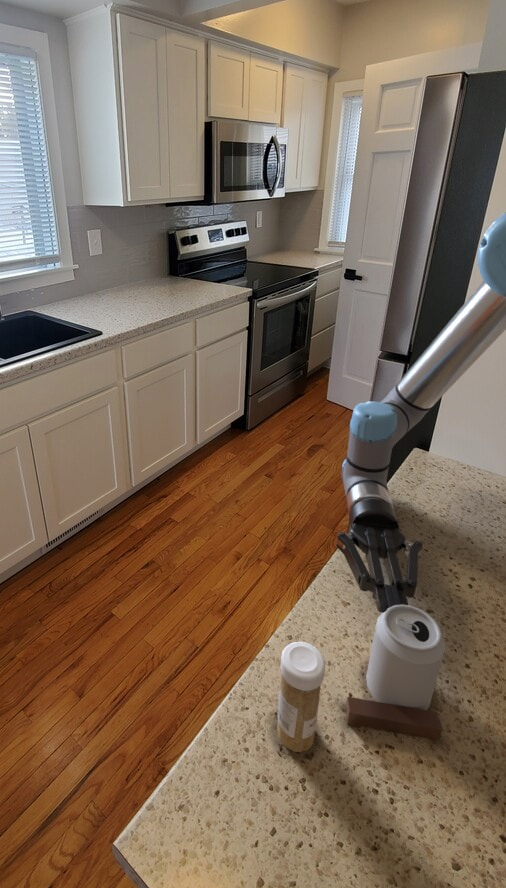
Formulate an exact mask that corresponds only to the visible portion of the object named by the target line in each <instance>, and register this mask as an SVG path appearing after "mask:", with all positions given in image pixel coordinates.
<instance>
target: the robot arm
mask: <svg viewBox="0 0 506 888" xmlns="http://www.w3.org/2000/svg"><path fill="white" fill-rule="evenodd" d="M477 267H478V270H479V274H480V276H481V278H482V280H483V281H482V282H481V283H480V285H479V286H477V288H476V289H475V290H474V292H473V293H472V294H471V295H470V296H469V297H468V298H467V300H466V301H465V302H464V303H463V305H462V306H461V307H460V308H459V309H458V310H457V312H456V313H455V314H454V315H453V316H452V318H451V319H450V320H449V321H448V323H447V324H445V326H444V327H443V328H442V329H441V331H440V332H439V334H437V336H436V337H435V338H434V339H433V340H432V341H431V343H430V344H429V345H428V347H426V349H425V350H424V351H423V353H421V355H420V356H419V357H418V358H417V359H416V360H415V362H414V363H413V364H412V365H411V366H410V367H409V369H408V370H407V372H406V373H405V374H404V375H403V376H402V377H401V379H400V380H399V381H398V382H397V384H396V385H394V387H393V388H392V389H391V390H390V391H389V393H388V394H387V395H386V396H385V397H384V398H383V399H382V400H381V401H366V402H360V403H358V404H356V405H355V406H354V409H353V411H352V416H351V419H350V421H349V435H348V443H347V453H346V457H345V458H344V460H343V461H342V465H341V480H342V483H343V488H344V489H343V490H344V494H345V500H346V505H347V512H348V519H349V525H350V530H349V533H345V532H343V531H339V532H338V533H337V538H336V545H335V546H336V548H337V549H338V550H339V551H340V553H342V554H343V555H344V557H345V559H346V562H347V564H348V566H349V569H350V571H351V573H352V575H353V577H354V579H355V581H356V583H357V585H358V587H359V588H358V589H360V591H362V592H368V591H369V592H371V593H372V599H373V600H374V601H375V604H376V609H377V611H378V613H381V614H382V613H384V612H386V610H387V609H388V608H390V607H392V606H394V605H409V601H408V598H409V599H413V598H415V595H416V589H417V585H418V573H419V572H418V569H419V568H418V567H419V560H420V558H421V554H422V551H423V546H424V544H423V543H422V541H419V540H416V541H413V542H411V541H410V540H408V539H406V536H405V535H404V533H403V532H402V531H401V528H400V525H399V522H398V521H399V520H398V518H397V514H396V512H395V507H394V504H393V501H392V498H391V494H390V491H389V488H388V483H387V479H388V475H389V474H388V473H389V468H390V462H391V457H392V452H393V447H394V446H395V445H396V444H397V443H398V442H399V441H400V440H401V439H402V438H403V437H404V436H405V435H406V434H407V433H408V432H409V431H411V429H413V428H414V427H415V426H416V425H417V424H418V423H420V422H421V421H422V420H423V418H424V417H425V416H426V414H427V413H429V411H430V410H431V409H432V407H434V406H435V404H436V403H438V401H439V400H440V399H441V398H442V397H443V396H444V395H445V394H446V393H447V392H448V390H450V389H451V388H452V386H453V385H454V384H455V383H457V381H459V380H460V379H461V377H462V376H463V375H464V374H465V373H466V372H467V371H468V370H469V369H470V368H471V367H472V366H473V365H474V363H476V361H478V359H479V358H480V357H481V356H482V355H483V354H484V353H485V352H486V351H487V350H488V349H489V348H490V347H491V346H492V345H493V344H494V342H495V341H497V339H499V337H500V336H501V335H502V334H503V333H504V332H505V331H506V212H504V213H503V214H501V215H500V216H499V217H497V219H496V220H494V221H493V222H492V224H491V225H490V226H489V227H488V228H487V230H486V231H485V232H484V234H483V237H482V238H481V241H480V243H479V247H478V252H477ZM357 548H358V549H359V550H358V549H357ZM402 549H404V554H405V555H406V558H407V561H406V571H405V572H406V573H405V579H404V578H403V574H402V571H401V568H400V563H399V560H398V557H397V555H398V554H399V553H400V551H401V550H402ZM359 551H362V553H364V555H365V560H366V563H367V566H368V569H367V567H366V564H365V562H364V561H363V559H362V556H361V555H360V552H359ZM380 558H381V559H382V561H383V565H384V566H385V570H386V575H387V577H388V578H387V579H388V582H389V584H387V583H386V584H385V578H384V574H383V569H382V565H381V560H380Z"/></svg>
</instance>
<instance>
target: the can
mask: <svg viewBox="0 0 506 888" xmlns="http://www.w3.org/2000/svg"><path fill="white" fill-rule="evenodd" d="M371 643H372V644H371V648H370V655H369V658H368V659H369V660H368V666H367V669H366V675H365V680H366V686H367V689H368V691H369V693H370V696H372V698H373V699H374V701H376V702H382V703H387V704H393V705H399V706H405V707H411V708H416V709H422V710H428V709H429V708H430V705H431V702H432V698H433V695H434V691H435V688H436V684H437V682H438V677H439V673H440V670H441V667H442V664H443V660H444V657H445V651H446V643H445V640H444V637H443V634H442V631H441V628H440V626H439V624H438V623H437V621H436V620H435V618H433V617H432V616H431V615H430V614H429V613H427V612H425V611H424V610H422V609H420V608H419V607H415V606H412V605H409V604H408V605H394V606H392V607H390V608H388V609H387V610H386V612H384V613H382V612H381V614H380V615H379V616H378V618H377V620H376V623H375V628H374V634H373V639H372V642H371Z"/></svg>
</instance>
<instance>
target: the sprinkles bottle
mask: <svg viewBox="0 0 506 888" xmlns="http://www.w3.org/2000/svg"><path fill="white" fill-rule="evenodd" d="M280 657H281V658H280V666H279V667H280V673H281V675H280V676H281V677H280V682H279V690H278V691H279V692H278V703H277V705H278V706H277V727H276V731H277V736H278V738H279V741H280V743H282V744H283V746H284V747H285V748H287V749H288V750H290V751H292V752H294V753H303V752H307V751H308V750H310V749H311V747H312V746H313V744H314V741H315V735H316V728H317V723H318V714H319V707H320V706H319V705H320V695H321V694H320V693H321V688H322V687H321V685H322V683H323V681H324V678H325V670H326V662H325V659H324V656H323V654H322V653H321V652H320V651H319V650H318V648H317V647H315V646H314V645H312V644H310V643H308V642H304V641H294V642H291V643H288V644H287V645H286V646H285V647H284V648H283V650H282V652H281V656H280Z"/></svg>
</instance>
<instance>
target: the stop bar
mask: <svg viewBox="0 0 506 888" xmlns="http://www.w3.org/2000/svg"><path fill="white" fill-rule="evenodd" d="M344 708H345V717H346V718H345V719H346V724H347V725H348V726H349V725H351V726H354V727H361V728H367V729H372V730H376V731H377V730H378V731H382V732H388V733H395V734H399V735H406V736H411V737H415V738H416V737H417V738H420V739H421V738H422V739H427V740H433V741H437V742H438V741H440V737H441V735H442V731H443V728H442V724H441V721H440V718H439V717H440V716H439V714H438V711H433V710H428V709H427V710H422V709H416V708H411V707H405V706H399V705H393V704H387V703H382V702H377V701H376V700H370V699H363V698H357V697H351V696H346V701H345V707H344Z"/></svg>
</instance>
